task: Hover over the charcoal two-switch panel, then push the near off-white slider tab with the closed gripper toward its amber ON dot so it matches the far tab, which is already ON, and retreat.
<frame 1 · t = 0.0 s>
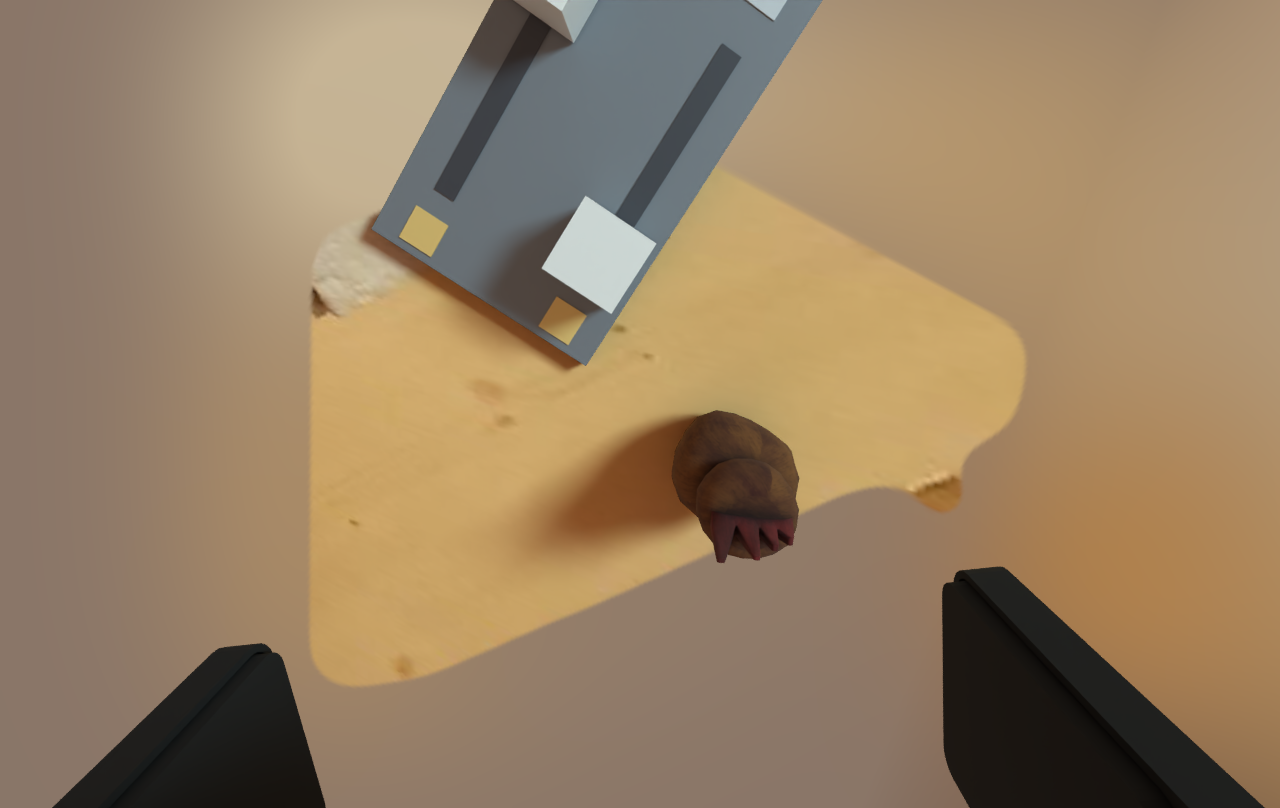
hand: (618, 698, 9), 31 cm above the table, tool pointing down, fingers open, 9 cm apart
switch panel: (596, 112, 36), on the table
wooden figurine: (723, 447, 41), on the table
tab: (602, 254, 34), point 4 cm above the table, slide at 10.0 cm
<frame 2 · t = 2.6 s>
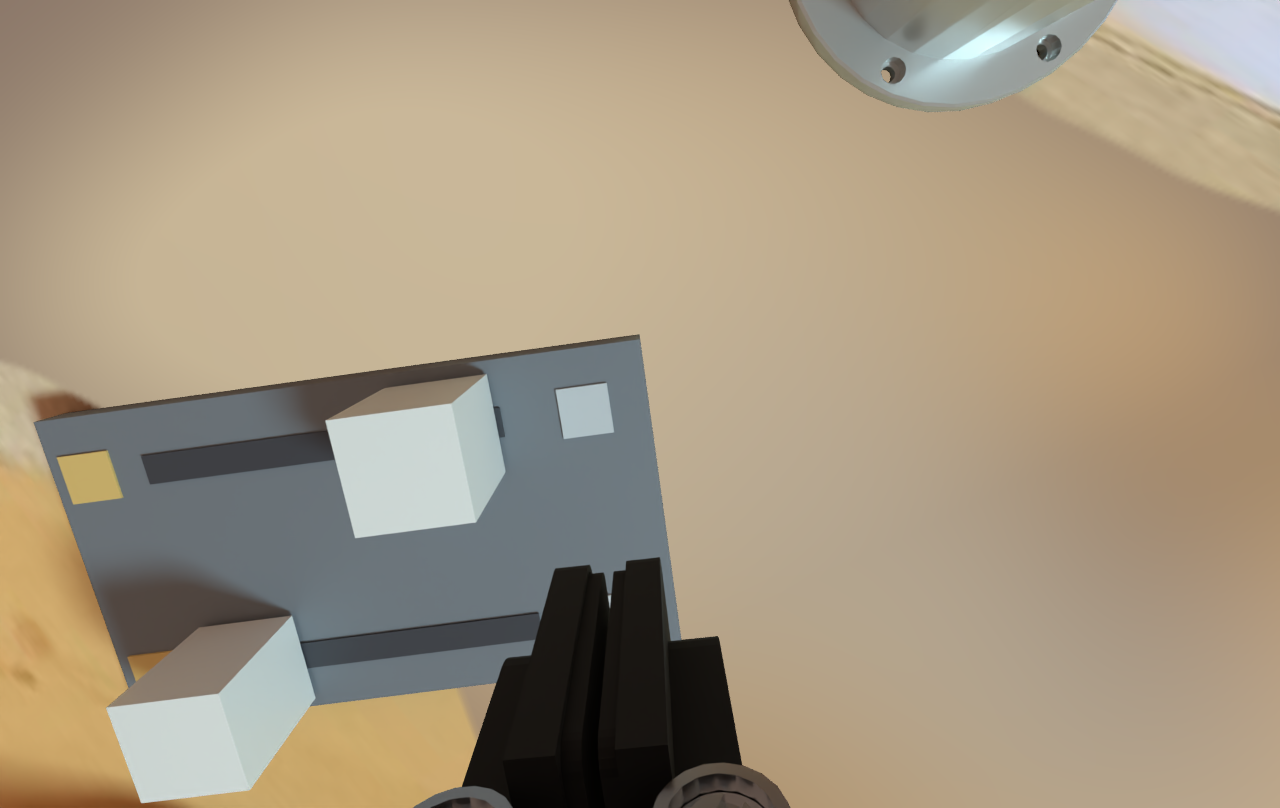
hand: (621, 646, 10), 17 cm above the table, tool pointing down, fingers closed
switch panel: (387, 531, 29), on the table
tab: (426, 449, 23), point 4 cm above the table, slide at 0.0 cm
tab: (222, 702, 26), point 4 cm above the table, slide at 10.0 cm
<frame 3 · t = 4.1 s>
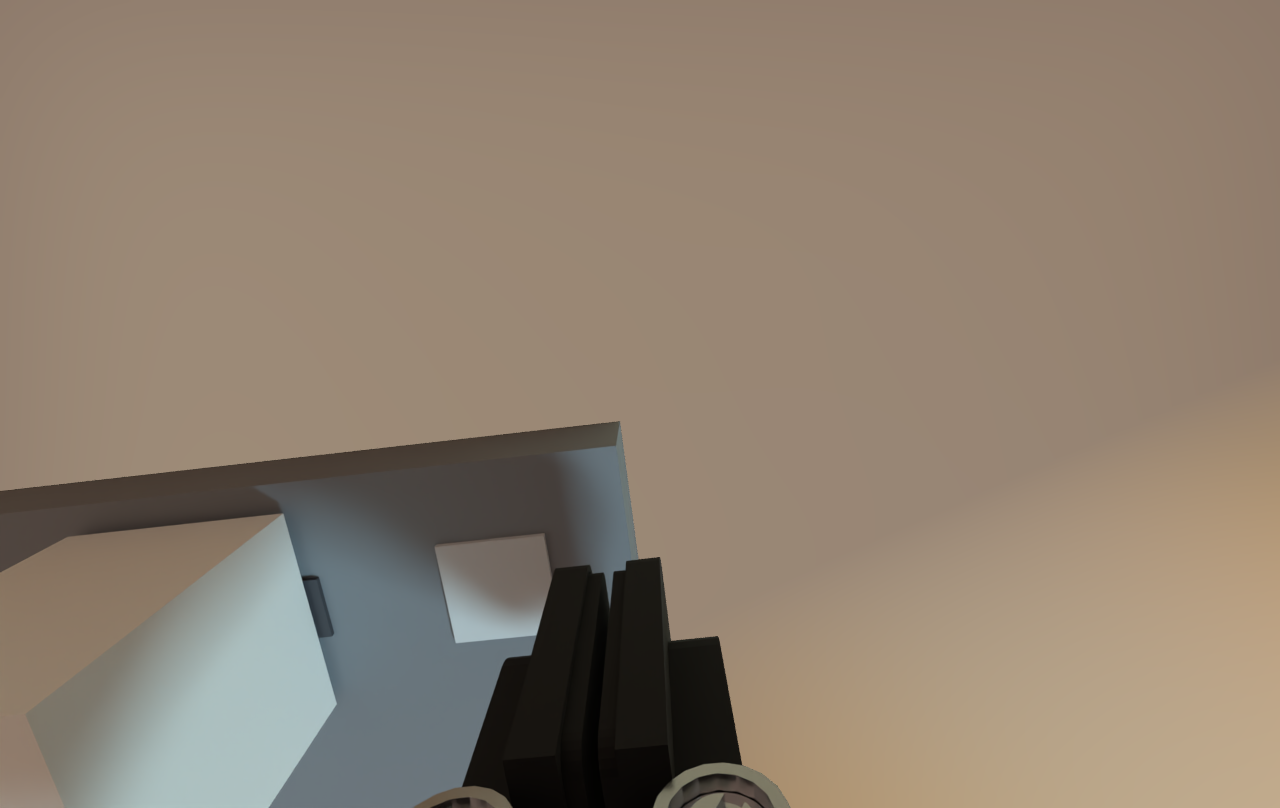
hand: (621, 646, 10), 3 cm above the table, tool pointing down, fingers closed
switch panel: (143, 768, 15), on the table
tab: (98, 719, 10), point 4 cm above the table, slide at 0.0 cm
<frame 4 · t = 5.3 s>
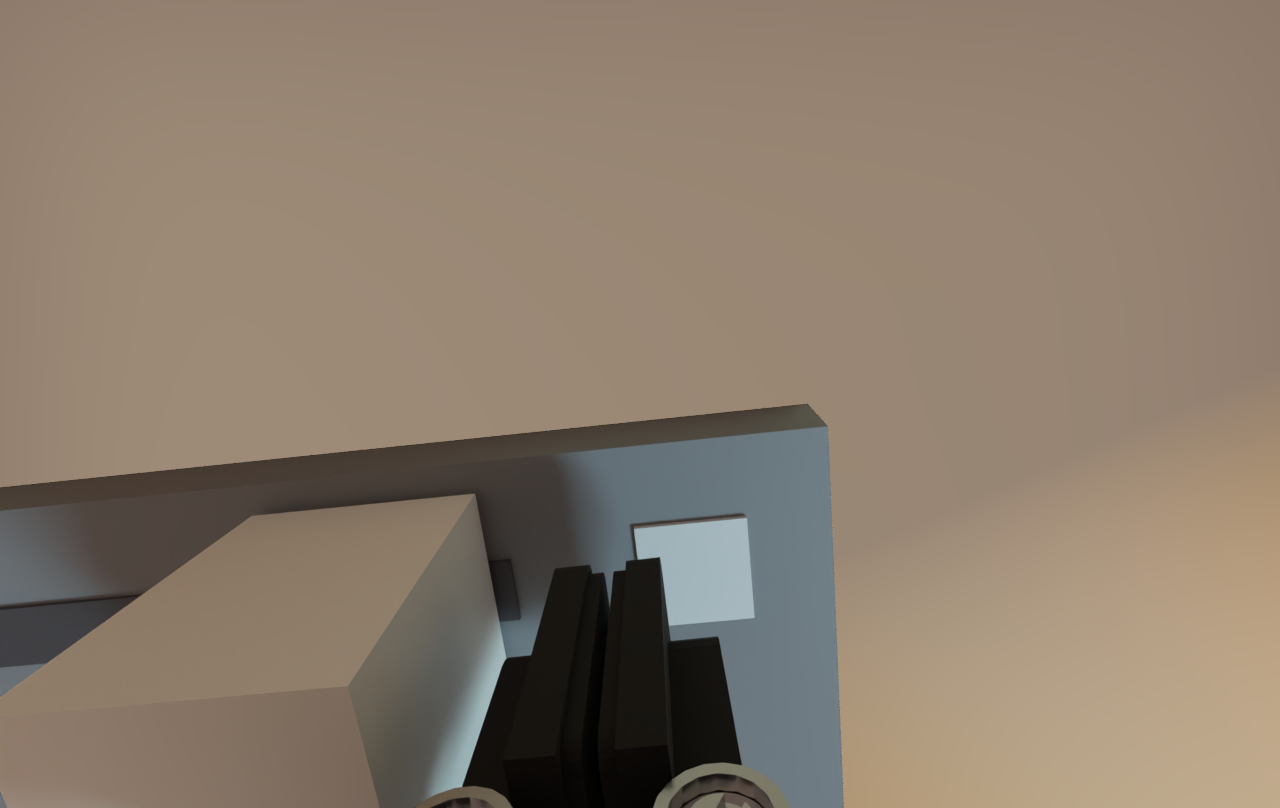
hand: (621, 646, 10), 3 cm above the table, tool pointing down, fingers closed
switch panel: (291, 755, 15), on the table
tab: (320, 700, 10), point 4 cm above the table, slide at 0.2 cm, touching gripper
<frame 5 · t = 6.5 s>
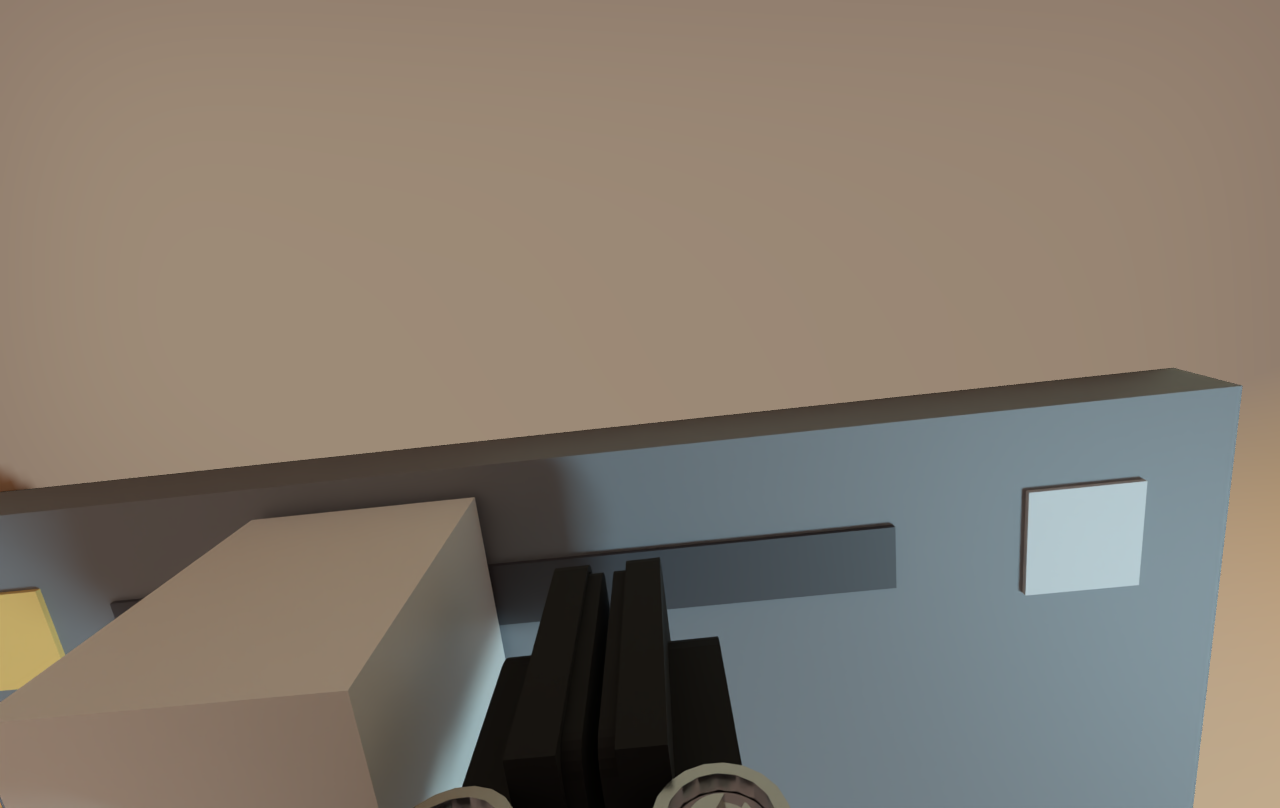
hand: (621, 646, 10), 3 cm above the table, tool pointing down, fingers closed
switch panel: (592, 733, 15), on the table
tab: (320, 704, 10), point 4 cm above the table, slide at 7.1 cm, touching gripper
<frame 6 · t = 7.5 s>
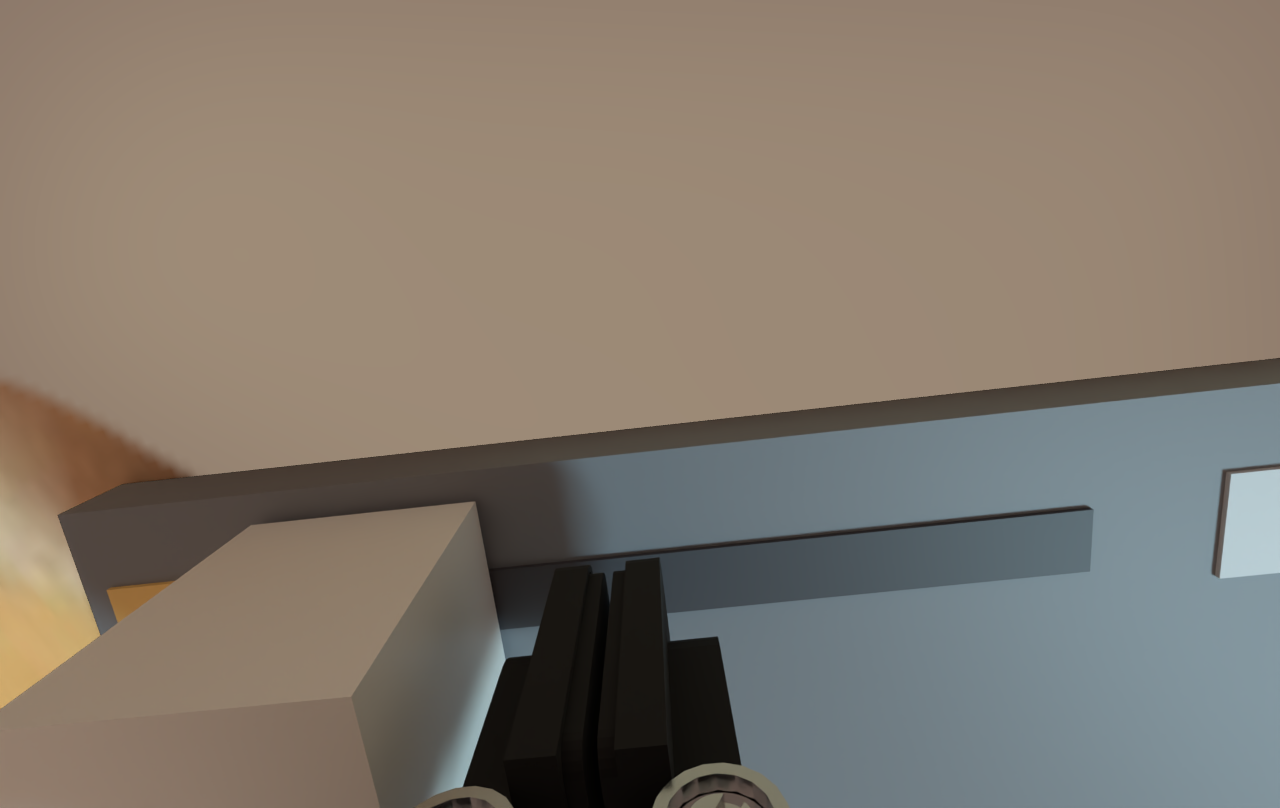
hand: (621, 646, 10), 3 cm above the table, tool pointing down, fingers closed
switch panel: (746, 723, 15), on the table
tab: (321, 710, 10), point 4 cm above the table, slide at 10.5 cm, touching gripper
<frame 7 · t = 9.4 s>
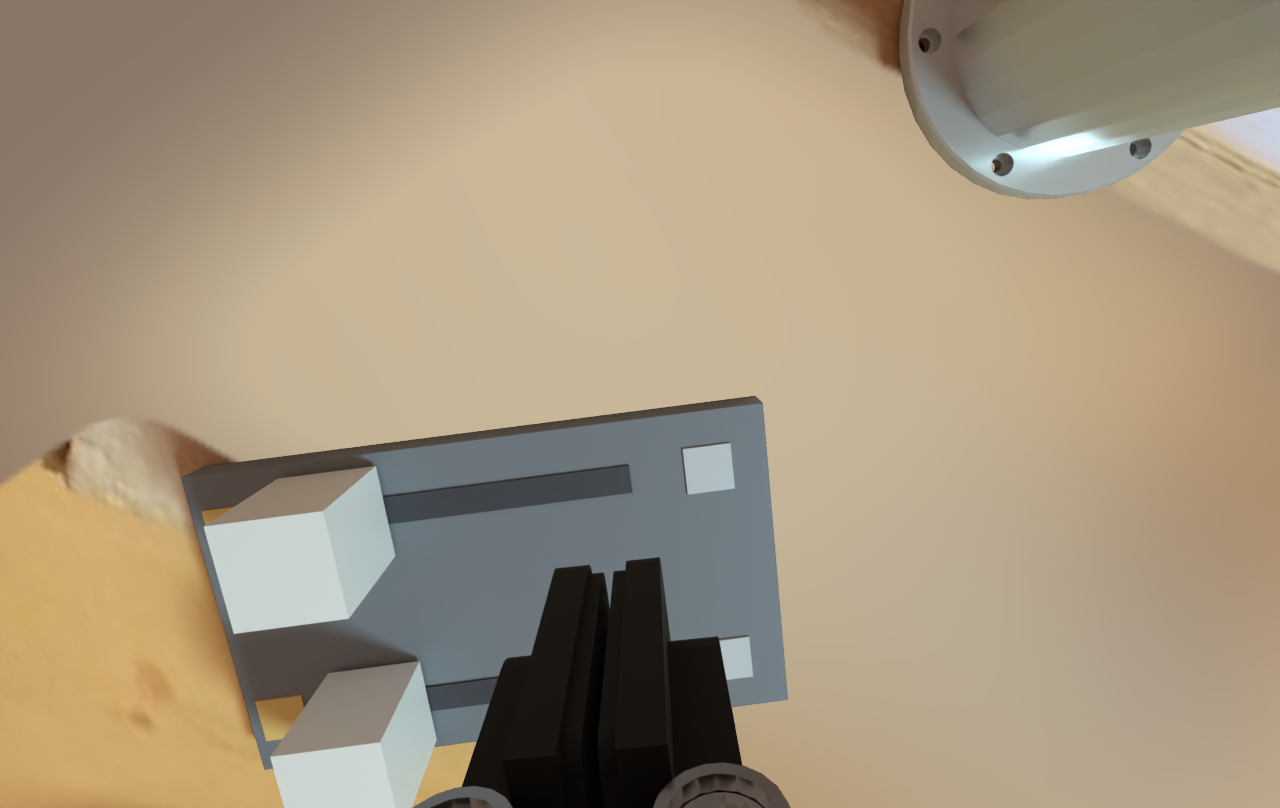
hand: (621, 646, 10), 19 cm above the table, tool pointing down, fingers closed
switch panel: (507, 578, 30), on the table
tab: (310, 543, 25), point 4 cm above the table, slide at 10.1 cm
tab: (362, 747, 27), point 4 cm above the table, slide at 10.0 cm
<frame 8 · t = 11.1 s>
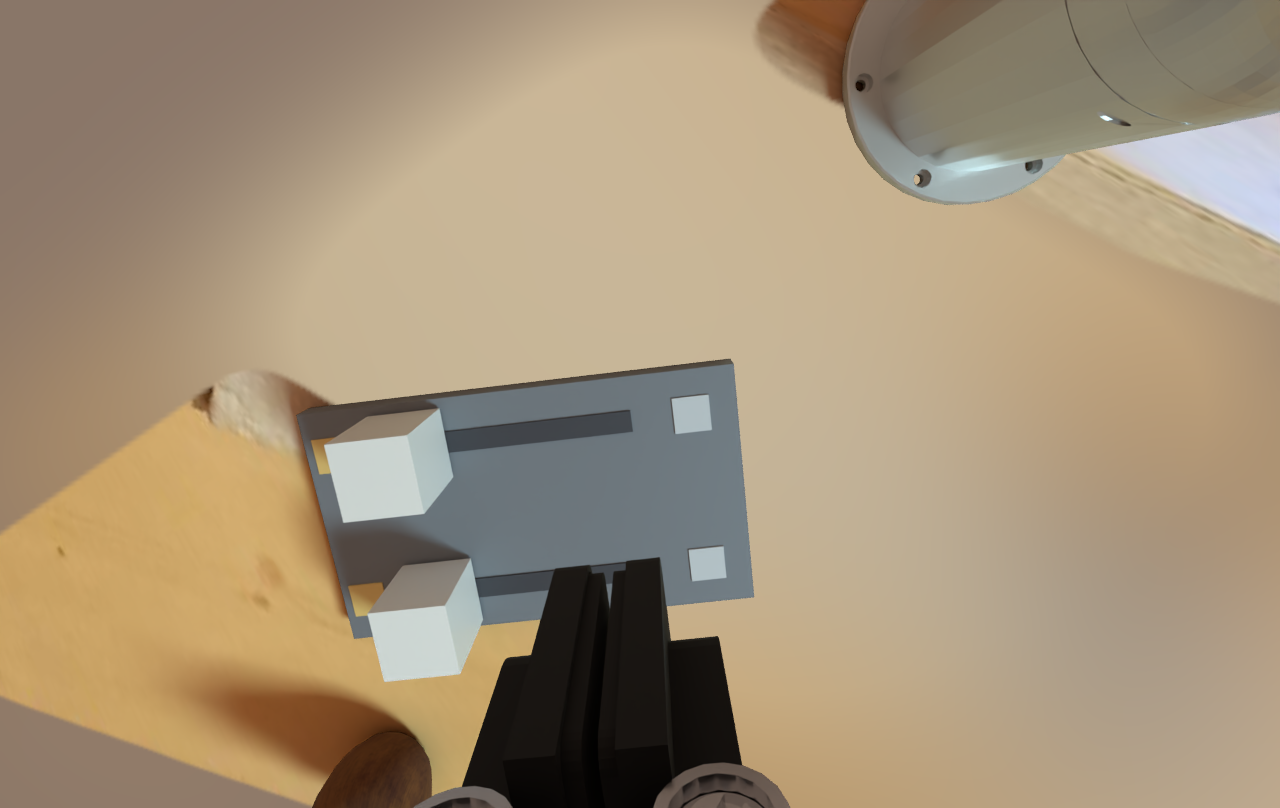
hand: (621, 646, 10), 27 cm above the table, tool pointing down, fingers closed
switch panel: (537, 498, 39), on the table
wooden figurine: (399, 755, 44), on the table
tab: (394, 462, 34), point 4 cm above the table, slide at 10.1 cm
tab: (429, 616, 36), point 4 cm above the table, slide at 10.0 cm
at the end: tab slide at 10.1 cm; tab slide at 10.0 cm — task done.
